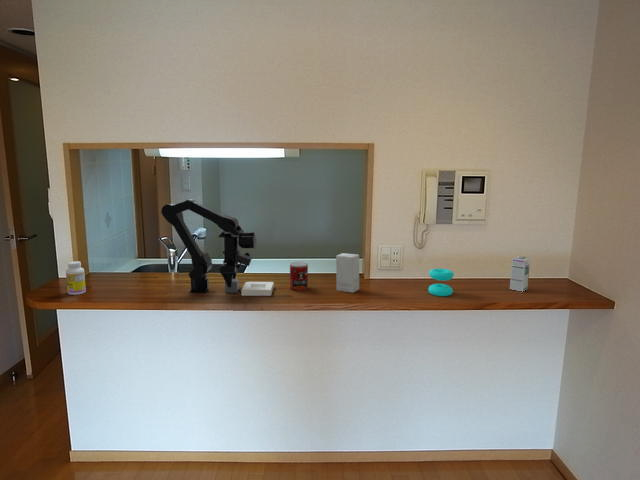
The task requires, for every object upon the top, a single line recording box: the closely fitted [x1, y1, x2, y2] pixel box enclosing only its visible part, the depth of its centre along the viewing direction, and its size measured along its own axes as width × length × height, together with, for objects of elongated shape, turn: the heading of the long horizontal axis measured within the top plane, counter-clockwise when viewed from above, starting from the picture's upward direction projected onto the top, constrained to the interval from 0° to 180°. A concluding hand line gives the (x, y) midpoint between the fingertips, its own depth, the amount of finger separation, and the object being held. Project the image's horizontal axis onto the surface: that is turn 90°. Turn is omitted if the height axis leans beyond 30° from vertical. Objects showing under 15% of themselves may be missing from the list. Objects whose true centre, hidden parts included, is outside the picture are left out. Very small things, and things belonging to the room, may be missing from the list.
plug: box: [224, 278, 240, 294], centre depth 186 cm, size 5×4×5 cm
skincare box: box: [335, 252, 360, 293], centre depth 189 cm, size 8×7×16 cm
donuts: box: [427, 268, 455, 297], centre depth 186 cm, size 10×10×10 cm
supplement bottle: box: [65, 260, 87, 296], centre depth 181 cm, size 7×7×13 cm
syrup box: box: [509, 255, 531, 293], centre depth 192 cm, size 6×6×14 cm
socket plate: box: [241, 281, 275, 297], centre depth 187 cm, size 12×12×2 cm
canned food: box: [289, 261, 309, 292], centre depth 191 cm, size 8×8×11 cm
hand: (231, 284), depth 186 cm, fingers open, 9 cm apart
